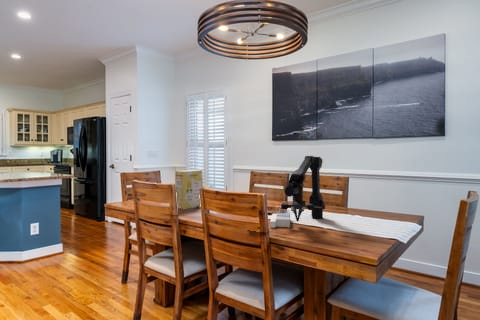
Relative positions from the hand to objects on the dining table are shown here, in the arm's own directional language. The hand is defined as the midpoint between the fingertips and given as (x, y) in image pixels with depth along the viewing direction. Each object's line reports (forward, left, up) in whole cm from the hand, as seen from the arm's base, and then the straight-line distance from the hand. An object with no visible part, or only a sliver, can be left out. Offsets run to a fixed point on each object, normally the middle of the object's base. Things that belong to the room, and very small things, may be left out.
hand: (297, 221), depth 182 cm
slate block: (+8, -11, -3) cm, 14 cm away
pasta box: (+82, -48, -3) cm, 95 cm away
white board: (+14, -5, -3) cm, 15 cm away
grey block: (+8, -1, -3) cm, 9 cm away
